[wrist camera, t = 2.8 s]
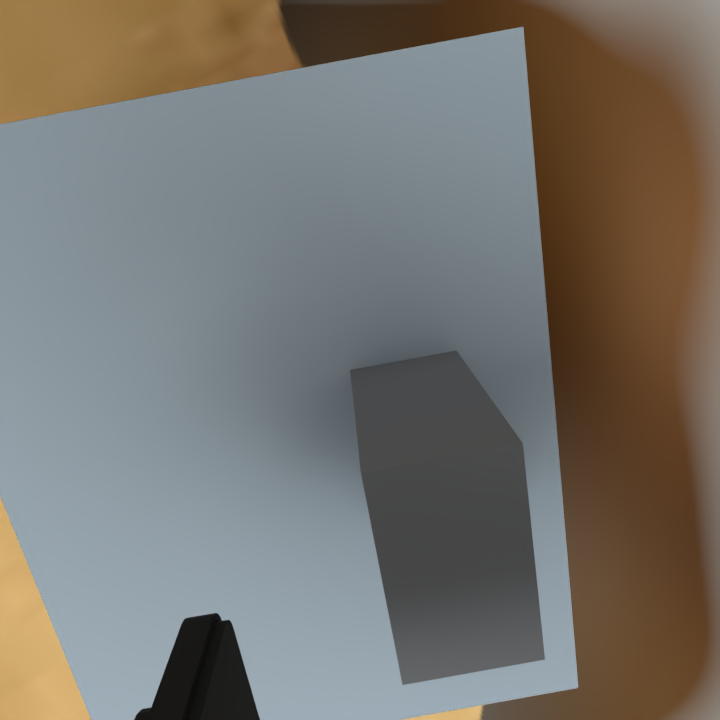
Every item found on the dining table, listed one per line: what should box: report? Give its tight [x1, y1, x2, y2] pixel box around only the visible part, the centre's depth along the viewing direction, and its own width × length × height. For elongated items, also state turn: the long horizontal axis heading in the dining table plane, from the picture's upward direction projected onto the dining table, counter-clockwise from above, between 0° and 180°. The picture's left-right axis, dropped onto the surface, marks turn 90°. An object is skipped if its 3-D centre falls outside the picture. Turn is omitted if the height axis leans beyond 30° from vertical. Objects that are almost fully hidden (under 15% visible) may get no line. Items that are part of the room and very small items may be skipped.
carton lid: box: [0, 27, 578, 720], centre depth 15 cm, size 20×16×7 cm
